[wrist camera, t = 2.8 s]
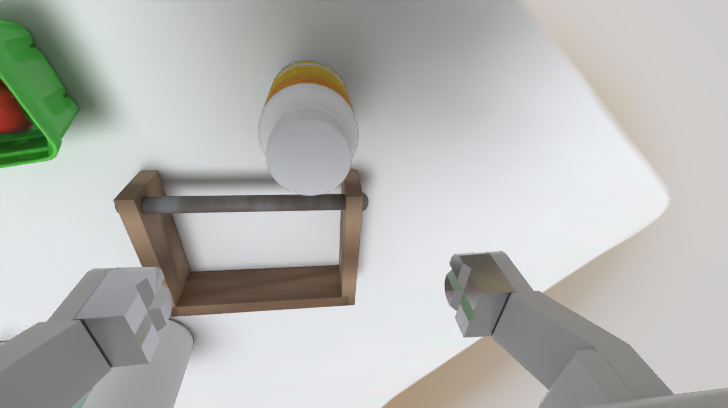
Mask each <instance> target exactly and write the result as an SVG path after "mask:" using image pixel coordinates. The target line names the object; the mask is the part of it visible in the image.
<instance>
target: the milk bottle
mask: <svg viewBox="0 0 728 408" xmlns="http://www.w3.org/2000/svg"><path fill="white" fill-rule="evenodd" d="M157 334H158V336H159V338H160V341H159V343H158V345H157V347H156V350H155V352H154V354H153V356H152V358H151V361H150V363H149V364H140V365H131V366H122V367H113V368H111V371H110V372H108V373H107V374H106V375H105V376H104V377H103V378H102V379H101V380H100V381H99V382H98V383H97V384H96V385H95V386H94V387H93V388H92V389H91V390H89V391H88V392H87V393H86V394H85V395H84V396H83V397H82V398H81V399H80V400H79V401H78V402H77V403H76V404H75V405H74V406H73V407H71V408H173V407H174V404H175V401H176V398H177V395H178V391H179V388H180V385H181V382H182V379H183V376H184V373H185V370H186V367H187V364H188V361H189V358H190V354H191V351H192V347H193V339H192V335H191V334H190V332H189V331H188V330H187V329H186V328H185V327H184V326H182V325H181V324H179V323H177V322H175V321H172V320H168V322H167V325H165V326H164V327H163V328H162V329H160V330H159V331H158V332H157Z"/></svg>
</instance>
